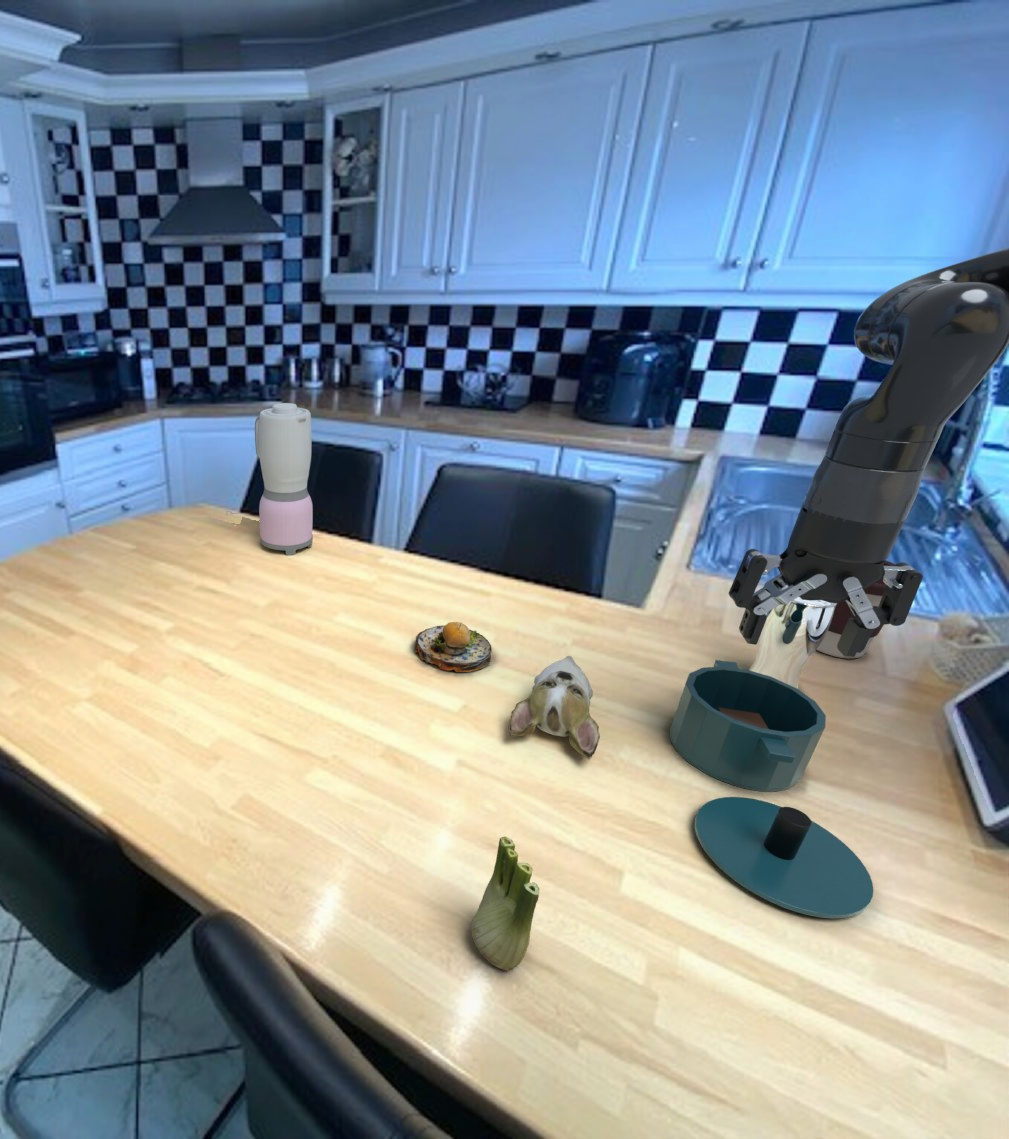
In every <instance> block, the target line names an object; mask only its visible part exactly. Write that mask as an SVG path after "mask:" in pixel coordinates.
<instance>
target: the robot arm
mask: <svg viewBox="0 0 1009 1139" xmlns="http://www.w3.org/2000/svg"><path fill="white" fill-rule="evenodd" d="M853 340H854V344H855V346H856V348H857V350H858V351H859V352H860V353H861V354H862V355H863V356H864V357H866V358H868V359H870V360H871V361H874V362H878V363H881V364H884V365H889V366H891V367H890V369H889V370H888V371H887V374H886V375H885V377H884V378H883V380H882V381H881V383H880V385H879V386H878V387H877V389H876V391H875V392H874V393H867V394H864V395H860V396H857V397H855V398H853V399H852V400H850V401H849V402H848V403H846V405H845V406H844V407H843V409H842V411H841V413H840V415H839V417H838V419H837V422H836V425H835V427H834V430H833V431H832V435H831V438H830V440H829V443H828V445H827V448H826V450H825V453H824V455H823V458H822V460H821V461H820V463H819V466H817V469H816V470H815V473H814V474H813V477H812V479H811V480H810V484H809V485H808V489H807V491H806V494H805V497H804V499H803V501H802V505H801V507H800V510H799V513H798V515H797V518H796V520H795V523H794V526H793V528H792V530H791V533H790V536H789V539H788V544H787V547H786V548H785V549H784V550H783V552H781V553H780V554H779V555H777V554H769V553H762V552H760V551H759V549H757V548H750V549H748V550H747V551H746V552H745V554H744V556H743V558H742V561H741V563H740V565H739V567H738V570H737V572H736V574H735V576H734V579H733V581H732V584H731V586H730V588H729V591H728V595H729V597H730V598H731V600H732V601H733V603H734V604H735V606H736V607H737V608H740V609H744V612H743V615H742V618H741V621H740V623H739V626H738V631H739V634H741V636H742V638H743V639H744V640H745V642H746V644H749V645H757V644H759V638H760V635H761V632H762V630H763V627H764V624H765V622H766V619H767V616H766V613H767V612H769V611H770V610H772V609H774V608H775V607H777V606H779V605H781V604H782V605H785V604H787V603H789V602H791V601H792V600H794V599H796V598H797V597H800V598H801V599H802V600H810V601H812V600H823V601H826V602H829V603H837V604H839V603H840V602H841V601H846V602H847V604H848V605H849V607H850V609H851V611H852V613H853V614H854V616H855V617H854V618H849V619H848V622H847V624H846V626H845V628H844V631H843V633H842V635H841V637H840V639H839V642H838V644H837V648H838V650H839V651H840V652H841V653H842V654H843V656H847V657H855V655H856V653H861V652H862V651H863V650H864V649H865V647H866V644H867V643H868V641H869V638H870V636H871V634H872V632H873V630H874V629H875V628H877V627H878V626H880V625H883V626H885V625H891V626H893V627H899V626H902V625H904V624H905V622H906V620H907V618H908V615H909V613H910V610H911V608H912V606H913V603H914V601H915V599H916V596H917V593H918V591H919V588H920V585H921V583H922V580H923V578H924V577H923V574H922V573H920V572H919V571H918V570H916V569H915V568H914V567H913V566H911V565H909V564H908V563H907V562H903V561H901V562H898V563H896V564H895V565H894V566H884V560H886V561H887V559H888V558H889V557H890V555H891V552H892V550H893V549H894V546H895V544H896V542H897V540H898V537H899V535H900V533H901V531H902V529H903V527H904V524H905V523H906V520H907V518H908V516H909V513H910V512H911V510H912V509H913V507H914V502H915V501H916V498H917V496H918V494H919V491H920V487H921V483H922V479H923V475H924V472H925V469H926V468H927V465H928V463H929V461H930V459H931V456H932V454H933V452H934V450H935V448H936V445H937V443H938V441H939V439H940V437H941V434H942V432H943V430H944V427H945V425H946V423H947V422H948V420H949V419H950V418H951V417H952V416H953V415H954V414H955V413H956V412H957V411H958V410H959V408H960V407H961V406H962V405H963V404H964V403H965V402H966V400H968V398H969V397H970V396H971V395H972V393H973V392H974V391H975V389H976V388H977V387H978V386H979V384H980V383H981V382H982V381H983V379H984V378H985V377H986V376H987V375H988V373H989V372H990V371H991V370H992V368H993V367H994V366H995V365H996V363H997V362H998V361H999V359H1000V358H1001V356H1002V355H1003V354H1004V352H1005V351H1006V350H1007V347H1008V345H1009V247H1007V248H1004V249H1001V250H997V251H993V252H990V253H986V254H982V255H980V256H976V257H974V258H970V259H967V260H964V261H961V262H958V263H954V264H952V265H951V264H950V265H948V266H945V267H942V268H938V269H935V270H933V271H929V272H927V273H924V274H921V275H919V276H916V277H913V278H911V279H908V280H906V281H904V282H902V283H900V284H898V285H896V286H894V287H892V288H890V289H889V290H887V291H885V292H884V293H882V294H881V295H879V296H878V297H876V298H875V299H874V300H873V301H872V302H871V303H870V304H869V305H867V306H866V308H865V309H864V310H863V312H862V313H861V314H860V315H859V317H858V319H857V320H856V323H855V325H854V329H853ZM774 568H777V569H778V571H779V573H778V574H776V576H774V577H772V578H770V579H769V580H767V581H766V582H764V585H763V586H762V588H760V589H758V590H756V589H757V588H758V585H759V583H760V581H761V580H762V576H765V575H768V574H770V571H771V570H772V569H774ZM882 578H884V579H883V582H884V583H885V584H886V588H885V590H884V593H883V596H882V598H881V601H880V604H879V606H878V608H873V606H872V604H871V603H870V601H869V599H868V597H867V595H866V594H865V592H864V590H865V589H867V588H868V587H870V586H872V585H873V584H875V583H877V582H878V581H880V580H881V579H882ZM786 585H787V586H788V587H787V588H786V589H784V590H782V588H783V587H784V586H786Z"/></svg>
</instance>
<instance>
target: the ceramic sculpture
mask: <svg viewBox="0 0 1009 1139" xmlns="http://www.w3.org/2000/svg"><path fill="white" fill-rule="evenodd" d="M573 658H574V657H572V655H567V656H566V657H564V658H562V659H560V660H558V661H555V662H553V663H551V664H550V665H548V666H546V667H544V669H543V670H541V672H540V673H538V674H537V675H536V676H535V677H534V679H533V683H534V685H533V686H532V690H531V693H530V694H529V697H527V699H524V700H520V701H519V702H517V703H516V704H515V706H514V709H512V710H511V713H510V719H509V728H508V729H509V735H510V736H511V737H513V738H514V737H522V736H527V735H531V734H533V733H534V732H535V731H536V727H537V728H538V729H539V730H541V732H544V733H547V734H550V735H552V736H557V737H569V739H568V740H569V744H570V746H571V747H572V748H573V749H574V750H575V751H577V752H578V753H579V754H580V755H582V756H583V757H584V758H586V759H587V760H591V759H592V757H593V755H594V754H595V753H596V750H597V747H598V745H599V742H600V738H601V735H600V732H599V728H600V727H599V725H598V723H597V722H596V720H595V719H594V718H593V717H592V716H591V712H590V706H591V699H592V698H593V696H594V690H593V689H592V687H591V684H590V681H589V679H588V677H587V675H586V674H585V672H584V671H583V669H582V668H581V667H580V666H579V665H578V664H577V662H576V661H575V660H574V659H573Z"/></svg>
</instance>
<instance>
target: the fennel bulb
mask: <svg viewBox="0 0 1009 1139" xmlns="http://www.w3.org/2000/svg"><path fill="white" fill-rule="evenodd" d="M515 849H516V844H515V843H514V841H513V839H511V838H509V837H508V836H502V837H499V841H498V846H497V852H496V859H495V863H494V867H493V868H494V869H493V872H492V874H491V878H490V879H489V881H488V883H487V885H486V888H485V890H484V892H483V895H482V898H481V901H480V903H479V905H478V908H477V911H476V912H475V914H474V916H473V918H472V920H471V928H470V929H471V937H472V939H473V943H474V945H475V947H476V948H477V950H478V952H479V953H480V954H481V955H482V957H483V958H484V959H486V960H487V962H488V963H490V964H491V965H492V966H494V967H496V968H498V969H501V970H504V971H506V972H511V971H513V970H515V969H516V968H517V967H518V966H519V965H520V964H521V963H522V962H523V960H524V958H525V956H526V953H527V950H528V948H529V945H530V940H531V932H532V931H531V930H532V926H533V925H532V924H533V918H534V914H535V909H536V906H537V904H538V901H539V897H540V887H539V886H538V884H537V883H536V882H535V881H534V882H532V881H531V878H532V876H533V867H532V866H531V865H530V864H529V863H528V862H523V861H522V862H519V854H518V852H517V851H516V850H515Z"/></svg>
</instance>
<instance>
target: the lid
mask: <svg viewBox="0 0 1009 1139" xmlns="http://www.w3.org/2000/svg"><path fill="white" fill-rule="evenodd" d="M694 831H695V834H696V838H697V840H698V842H699V844H700V846H701V848H702V849H703V851H704V852H705V854H706V855H707V857H708V858H710V860H711V862H713V863H714V864H715V865H716V867H718V869H720V870H721V871H722V872H723V873H725V874H726V876H728V877H729V878H731V879H732V880H733V881H734V882H736V883H737V884H738V885H740V886H741V887H743V888H745V889H746V890H747V891H749V892H751V893H752V894H754V895H756V896H758V897H759V898H762V899H763V900H765V901H767V902H770V903H771V904H774V905H777V906H778V907H781V908H783V909H786V910H789V911H792V912H795V913H799V914H802V915H806V916H809V917H816V918H823V919H846V918H851V917H854V916H857V915H859V914H860V913H862V912H864V911H865V910H866V909H867V908H868V906H869V905H870V904H871V902H872V899H873V897H874V885H873V880H872V878H871V877H872V876H871V875H870V873H869V871H868V870H867V868H866V866H865V865H864V863H863V861H862V860H861V859H860V858H859V856H857V855H856V853H855V852H854V851H853V850H852V849H851V848H850V847H849V846H848V845H846V843H844V842H843V841H842V840H840V839H839V838H838V837H837V836H836V835H835V834H833V833H831V832H830V831H829V830H827V829H826V828H825V827H823V826H821V825H819V824H818V823H817V822H815V821H813V820H812V819H811V818H810V817H809V816H808V815H807V814H806V813H805V812H803V811H801V810H799V809H797V808H794V807H791V806H780V805H777V804H774V803H771V802H769V801H764V800H760V799H756V798H750V797H743V796H742V797H741V796H725V797H724V796H723V797H718V798H715V799H711V800H710V801H707V802H706V803H704V804H703V805H701V807H700V808H699V809H698V811H697V813H696V815H695V819H694Z"/></svg>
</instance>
